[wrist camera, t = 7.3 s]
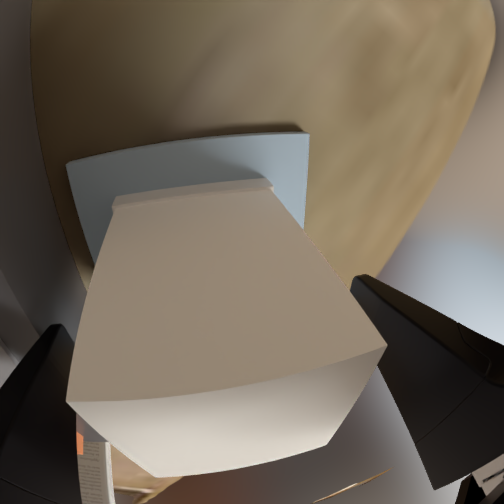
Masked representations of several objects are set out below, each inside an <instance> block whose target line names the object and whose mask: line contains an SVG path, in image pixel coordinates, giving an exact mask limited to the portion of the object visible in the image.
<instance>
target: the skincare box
mask: <svg viewBox="0 0 504 504" xmlns="http://www.w3.org/2000/svg"><path fill="white" fill-rule="evenodd" d="M77 457H78V471H79V481H80V490H81V498H82V504H115V499H114V491H113V481H112V469H111V452H110V443H109V442H83V455H81V454H77Z"/></svg>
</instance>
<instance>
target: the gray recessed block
mask: <svg viewBox="0 0 504 504" xmlns="http://www.w3.org/2000/svg"><path fill="white" fill-rule="evenodd" d="M31 5H32V0H0V388H1V386H2V385H3V384H4V382H5V381H6V380H7V378H8V377H9V375H10V374H11V373H12V371H13V370H14V369H15V368H16V366H17V365H18V364H19V362H20V361H21V360H22V358H23V357H24V356H25V355H26V353H27V352H28V351H29V350H30V348H31V347H32V346H33V345H34V343H35V342H36V341H37V340H38V339H39V337H40V336H41V335H42V334H43V333H44V331H45V330H46V329H47V328H48V327H49V326H50V325H51V324H59V323H61V324H63V325H64V326H65V328H66V329H67V331H68V333H69V334H70V336H71V338H72V339H73V341H74V343H75V342H76V337H77V332H78V328H79V324H80V319H81V315H82V311H83V307H84V303H85V299H86V296H87V291H86V289H85V286H84V284H83V282H82V279H81V277H80V275H79V272H78V270H77V267H76V265H75V262H74V260H73V257H72V254H71V252H70V249H69V246H68V244H67V241H66V238H65V235H64V232H63V229H62V226H61V223H60V220H59V217H58V214H57V210H56V207H55V204H54V200H53V197H52V193H51V189H50V185H49V182H48V178H47V173H46V169H45V165H44V160H43V156H42V151H41V146H40V141H39V135H38V129H37V123H36V116H35V109H34V101H33V91H32V79H31V62H30V21H31ZM76 431H77V454H81V455H83V442H108V441H107V440H106V439H105V438H104V437H102V436H101V435H100V434H99V433H98V432H97V431H96V430H95V429H93V428H92V427H91V426H90V425H89V424H88V423H87V422H86V421H85V420H84V419H83V418H82V417H81V416H80V415H79V414H78V413H77V412H76Z"/></svg>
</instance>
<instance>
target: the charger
mask: <svg viewBox="0 0 504 504" xmlns="http://www.w3.org/2000/svg"><path fill="white" fill-rule="evenodd" d="M112 210H113V216H112V219H111V221H110V224H109V227H108V229H107V232H106V235H105V238H104V241H103V244H102V247H101V249H100V252H99V256H98V259H97V262H96V265H95V268H94V271H93V275H92V278H91V281H90V285H89V288H88V292H87V296H86V299H85V303H84V307H83V311H82V315H81V319H80V324H79V328H78V332H77V337H76V342H75V347H74V352H73V357H72V363H71V369H70V375H69V381H68V388H67V396H66V402H67V403H68V404H69V405H70V406H71V407H72V408H73V409H74V410H75V411H76V412H77V413H78V414H79V415H80V416H81V417H82V418H83V419H84V420H85V421H86V422H87V423H88V424H89V425H90V426H91V427H92V428H93V429H95V430H96V431H97V432H98V433H99V434H100V435H101V436H102V437H104V438H105V439H106V440H107V441H108V442H109V443H111V444H112V445H113V446H114V447H115V448H117V449H118V450H119V451H120V452H122V453H123V454H124V455H125V456H127V457H128V458H129V459H131V460H132V461H133V462H135V463H136V464H137V465H139V466H140V467H141V468H143V469H144V470H146V471H147V472H148V473H150V474H151V475H153V476H154V477H156V478H158V477H175V476H187V475H196V474H204V473H212V472H219V471H225V470H231V469H237V468H242V467H247V466H252V465H257V464H261V463H265V462H270V461H274V460H277V459H282V458H285V457H289V456H292V455H296V454H300V453H303V452H306V451H309V450H312V449H315V448H319V447H322V446H324V445H327V443H328V442H329V440H330V439H331V438H332V436H333V435H334V433H335V432H336V431H337V429H338V427H339V426H340V425H341V423H342V422H343V420H344V419H345V417H346V416H347V414H348V413H349V411H350V410H351V408H352V406H353V405H354V403H355V402H356V400H357V399H358V397H359V395H360V394H361V392H362V390H363V389H364V387H365V385H366V384H367V382H368V380H369V378H370V377H371V375H372V373H373V371H374V370H375V368H376V366H377V364H378V362H379V361H380V359H381V357H382V355H383V353H384V351H385V349H386V347H387V343H386V342H385V341H384V339H383V338H382V336H381V335H380V333H379V332H378V330H377V329H376V327H375V326H374V325H373V323H372V322H371V320H370V319H369V317H368V316H367V315H366V313H365V312H364V310H363V309H362V308H361V306H360V305H359V303H358V302H357V301H356V299H355V298H354V296H353V295H352V294H351V292H350V291H349V290H348V288H347V287H346V285H345V284H344V283H343V281H342V280H341V279H340V277H339V276H338V275H337V273H336V272H335V271H334V269H333V268H332V267H331V265H330V264H329V263H328V261H327V260H326V259H325V257H324V256H323V255H322V253H321V252H320V251H319V249H318V248H317V247H316V246H315V244H314V243H313V242H312V240H311V239H310V238H309V237H308V235H307V234H306V233H305V231H304V230H303V229H302V228H301V226H300V225H299V224H298V223H297V221H296V220H295V219H294V218H293V216H292V215H291V214H290V213H289V211H288V210H287V209H286V208H285V206H284V205H283V204H282V203H281V201H280V200H279V199H278V198H277V197H276V195H275V194H274V186H273V185H272V184H271V182H270V181H269V180H268V179H267V178H258V179H246V180H235V181H225V182H215V183H206V184H197V185H189V186H181V187H173V188H166V189H159V190H152V191H145V192H139V193H133V194H127V195H121V196H116V197H115V200H114V202H113V204H112Z"/></svg>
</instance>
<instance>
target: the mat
mask: <svg viewBox="0 0 504 504" xmlns="http://www.w3.org/2000/svg"><path fill="white" fill-rule="evenodd" d="M308 155H309V133H307V132H267V133H248V134H234V135H222V136H212V137H202V138H193V139H185V140H177V141H170V142H163V143H157V144H151V145H145V146H139V147H133V148H128V149H123V150H118V151H113V152H108V153H103V154H99V155H94V156H90V157H86V158H82V159H78V160H74V161H70V162H69V163H67V164H66V169H67V173H68V178H69V182H70V186H71V190H72V194H73V198H74V201H75V205H76V209H77V212H78V216H79V219H80V222H81V226H82V229H83V232H84V235H85V238H86V241H87V244H88V247H89V250H90V253H91V256H92V259H93V262H94V264H95V265H96V262H97V259H98V256H99V252H100V249H101V247H102V244H103V241H104V238H105V235H106V232H107V229H108V227H109V224H110V221H111V219H112V216H113V210H112V204H113V202H114V200H115V197H116V196H121V195H127V194H133V193H139V192H145V191H152V190H159V189H166V188H173V187H181V186H189V185H197V184H206V183H215V182H225V181H235V180H246V179H258V178H267V179H268V180H269V181H270V182H271V184H272V185H273V186H274V194H275V195H276V197H277V198H278V199H279V200H280V201H281V203H282V204H283V205H284V206H285V208H286V209H287V210H288V211H289V213H290V214H291V215H292V216H293V218H294V219H295V220H296V221H297V223H298V224H299V225H300V226H301V228H302V229H303V228H304V215H305V202H306V188H307V173H308Z"/></svg>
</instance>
